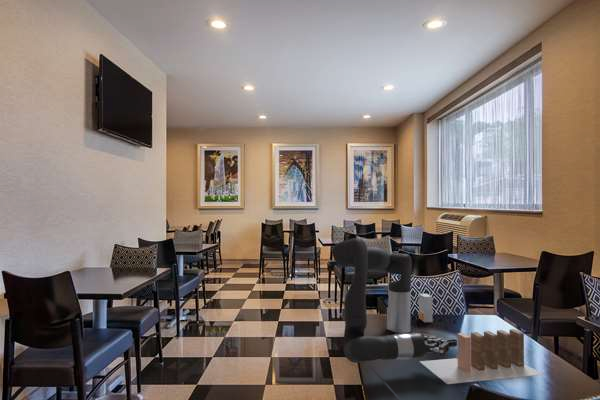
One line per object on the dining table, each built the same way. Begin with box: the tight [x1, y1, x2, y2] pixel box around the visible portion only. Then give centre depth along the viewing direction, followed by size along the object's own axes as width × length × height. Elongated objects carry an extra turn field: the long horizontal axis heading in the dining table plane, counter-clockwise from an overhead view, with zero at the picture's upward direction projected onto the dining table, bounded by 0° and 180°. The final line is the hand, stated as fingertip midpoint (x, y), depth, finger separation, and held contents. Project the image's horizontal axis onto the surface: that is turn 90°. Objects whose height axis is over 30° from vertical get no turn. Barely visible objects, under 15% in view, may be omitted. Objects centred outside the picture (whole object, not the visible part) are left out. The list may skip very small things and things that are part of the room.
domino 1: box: [470, 331, 485, 371], centre depth 119 cm, size 2×4×11 cm, turn 11°
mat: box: [419, 357, 543, 385], centre depth 119 cm, size 34×16×1 cm, turn 101°
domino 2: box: [483, 330, 498, 369], centre depth 120 cm, size 2×4×11 cm, turn 11°
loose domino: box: [456, 332, 471, 372], centre depth 118 cm, size 2×4×11 cm, turn 12°
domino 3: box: [496, 329, 511, 368], centre depth 121 cm, size 2×4×11 cm, turn 11°
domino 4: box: [509, 329, 525, 367], centre depth 122 cm, size 2×4×11 cm, turn 11°
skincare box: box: [418, 293, 434, 323], centre depth 170 cm, size 6×4×12 cm
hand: (455, 342), depth 117 cm, fingers closed
